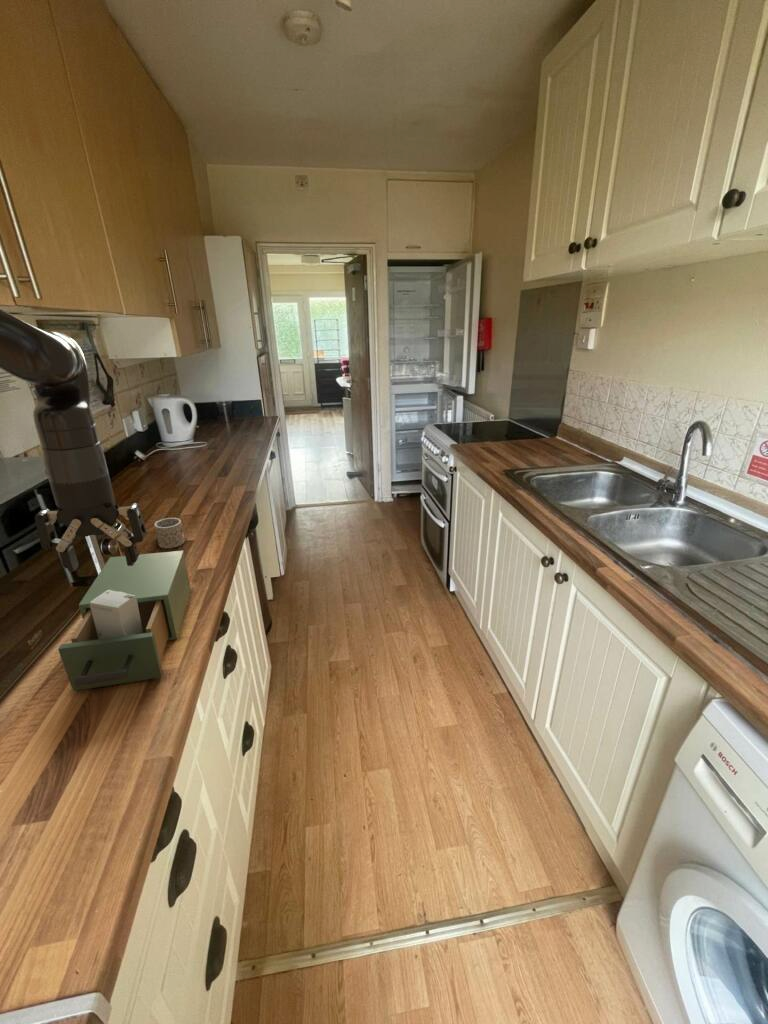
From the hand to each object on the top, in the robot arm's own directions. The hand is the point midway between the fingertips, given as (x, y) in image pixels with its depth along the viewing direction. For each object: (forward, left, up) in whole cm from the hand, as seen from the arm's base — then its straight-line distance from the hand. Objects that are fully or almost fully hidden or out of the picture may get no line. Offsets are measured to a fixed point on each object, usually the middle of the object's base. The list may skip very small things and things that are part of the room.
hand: (103, 566), depth 71 cm
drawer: (0, 0, -20) cm, 20 cm away
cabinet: (-9, +10, -21) cm, 24 cm away
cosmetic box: (0, 0, -19) cm, 19 cm away
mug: (-34, +36, -21) cm, 54 cm away
